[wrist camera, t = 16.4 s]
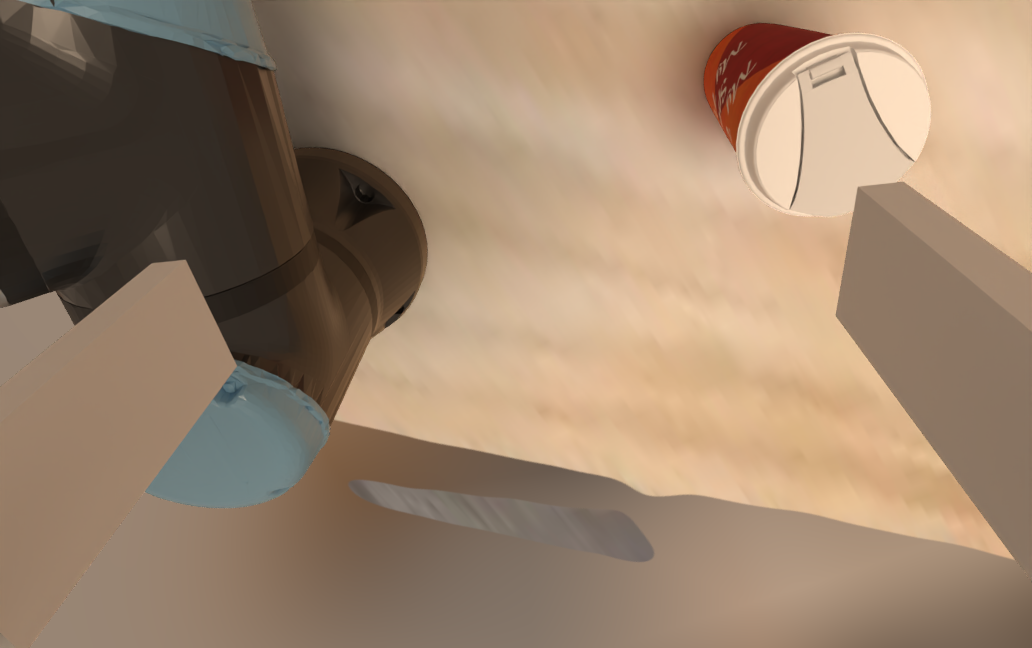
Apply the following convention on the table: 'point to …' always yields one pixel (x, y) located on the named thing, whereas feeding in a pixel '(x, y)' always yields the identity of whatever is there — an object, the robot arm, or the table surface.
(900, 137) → the coffee cup
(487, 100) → the table surface
